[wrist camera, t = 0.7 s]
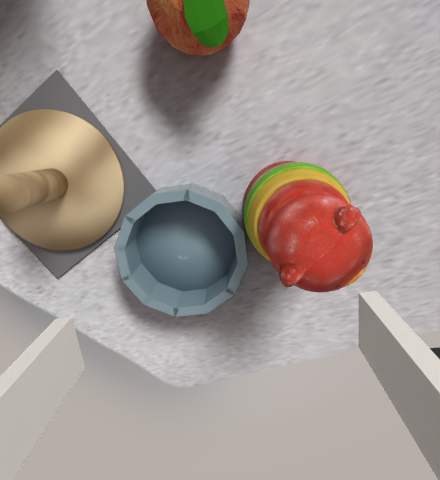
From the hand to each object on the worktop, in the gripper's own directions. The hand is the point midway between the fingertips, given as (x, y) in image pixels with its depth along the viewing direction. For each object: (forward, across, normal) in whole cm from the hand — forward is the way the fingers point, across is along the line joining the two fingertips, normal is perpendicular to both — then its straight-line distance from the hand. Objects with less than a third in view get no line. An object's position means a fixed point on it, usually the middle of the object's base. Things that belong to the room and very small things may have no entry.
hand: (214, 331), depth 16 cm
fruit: (+24, 0, +20) cm, 31 cm away
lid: (+24, -18, +6) cm, 30 cm away
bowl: (+24, -5, -3) cm, 24 cm away
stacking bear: (+24, +7, 0) cm, 25 cm away
